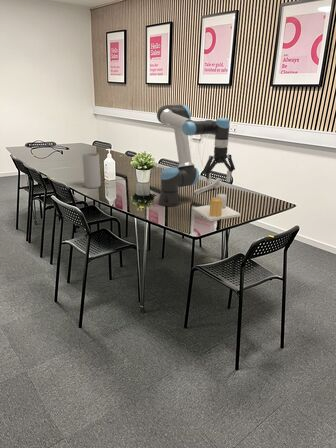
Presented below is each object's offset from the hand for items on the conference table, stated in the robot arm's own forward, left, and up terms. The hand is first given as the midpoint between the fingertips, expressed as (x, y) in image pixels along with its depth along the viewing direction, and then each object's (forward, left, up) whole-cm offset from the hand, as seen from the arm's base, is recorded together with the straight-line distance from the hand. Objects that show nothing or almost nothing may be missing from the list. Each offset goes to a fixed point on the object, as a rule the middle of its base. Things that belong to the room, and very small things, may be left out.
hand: (218, 182), depth 200 cm
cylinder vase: (-94, -55, -21) cm, 111 cm away
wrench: (-48, +23, -22) cm, 58 cm away
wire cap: (+1, -1, -20) cm, 20 cm away
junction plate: (-5, +3, -21) cm, 22 cm away
